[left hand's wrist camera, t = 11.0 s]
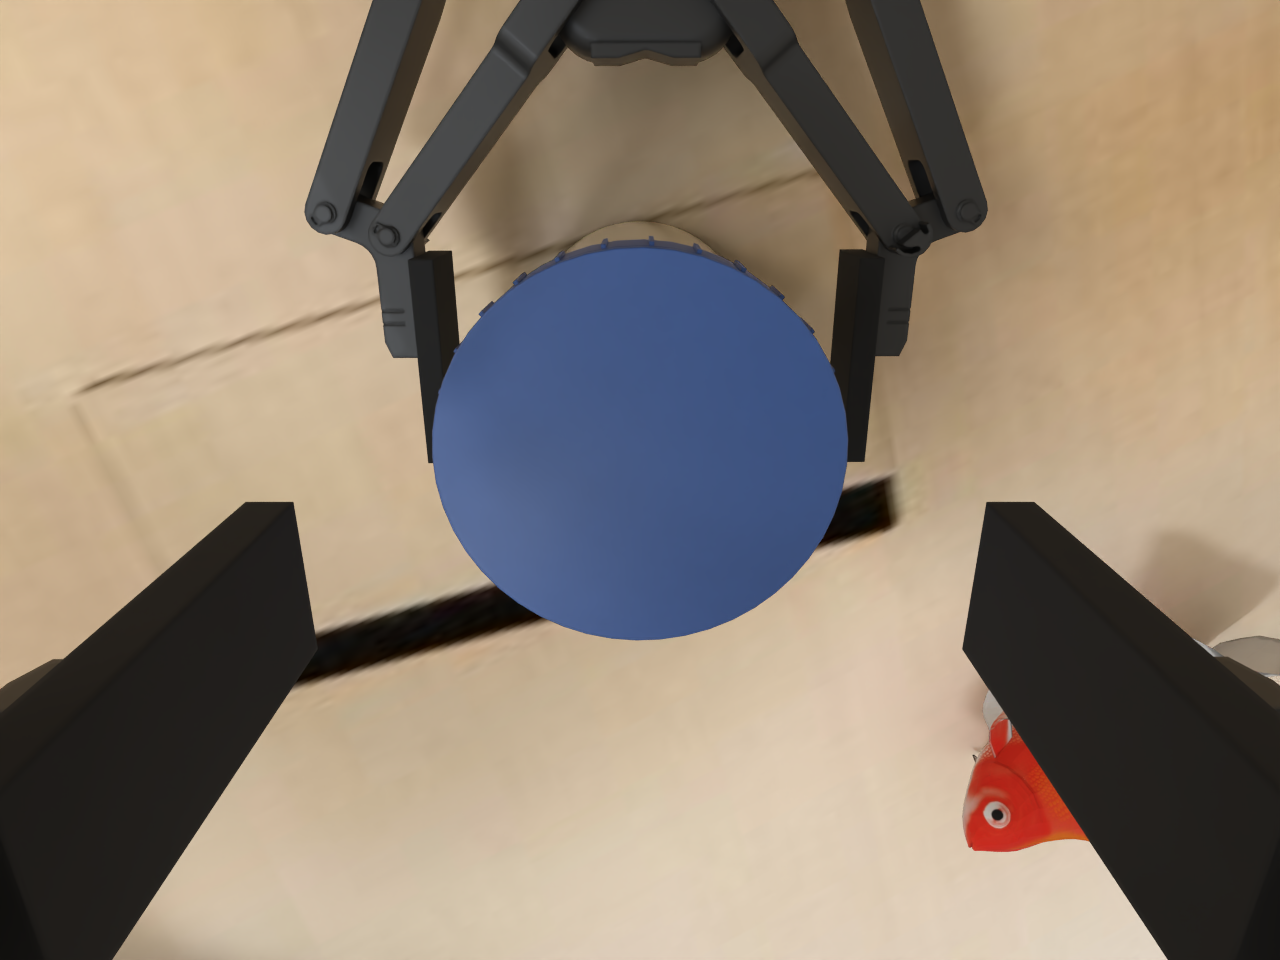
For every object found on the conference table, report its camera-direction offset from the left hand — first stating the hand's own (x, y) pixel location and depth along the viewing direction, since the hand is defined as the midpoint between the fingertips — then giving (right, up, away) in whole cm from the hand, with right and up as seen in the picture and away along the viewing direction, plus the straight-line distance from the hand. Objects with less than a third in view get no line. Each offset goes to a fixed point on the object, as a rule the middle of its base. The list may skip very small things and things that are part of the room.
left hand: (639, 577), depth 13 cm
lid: (0, +2, +5) cm, 6 cm away
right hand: (0, +3, +15) cm, 15 cm away
